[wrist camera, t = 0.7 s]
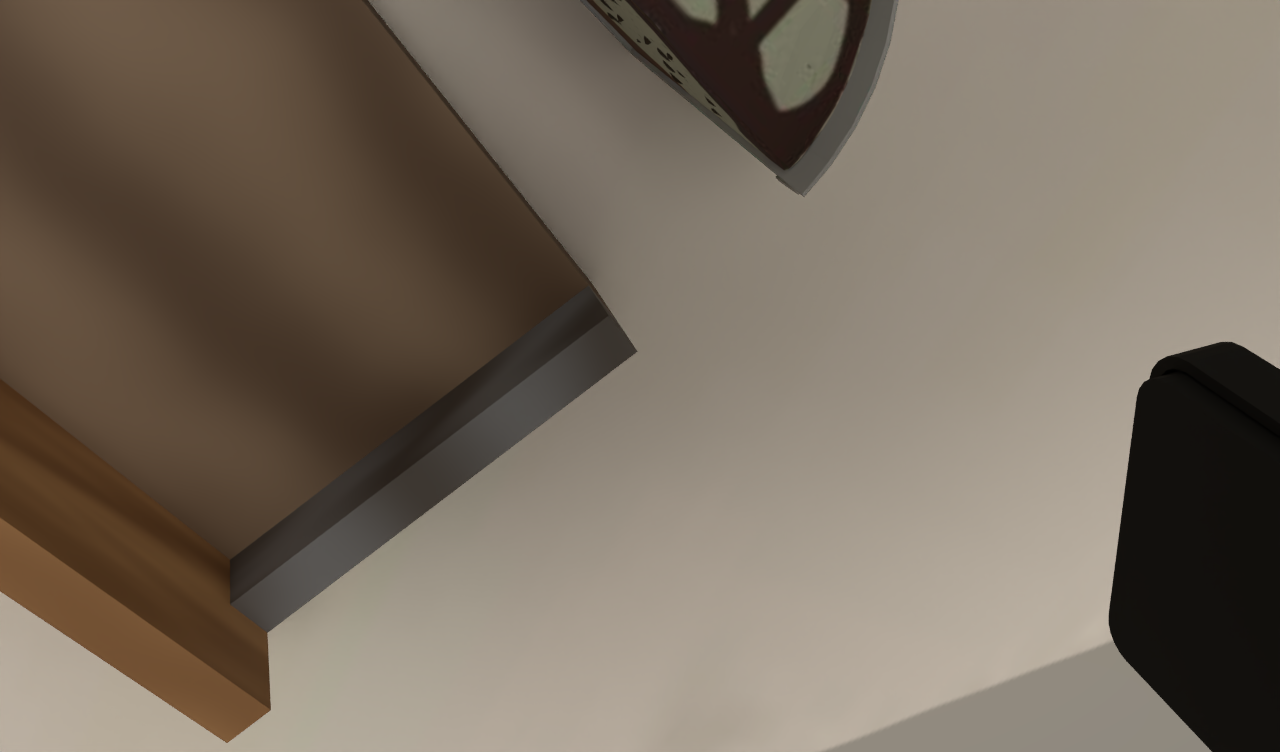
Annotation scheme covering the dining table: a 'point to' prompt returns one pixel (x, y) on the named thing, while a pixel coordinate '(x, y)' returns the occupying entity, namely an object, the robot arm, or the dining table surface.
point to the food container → (765, 69)
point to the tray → (249, 322)
